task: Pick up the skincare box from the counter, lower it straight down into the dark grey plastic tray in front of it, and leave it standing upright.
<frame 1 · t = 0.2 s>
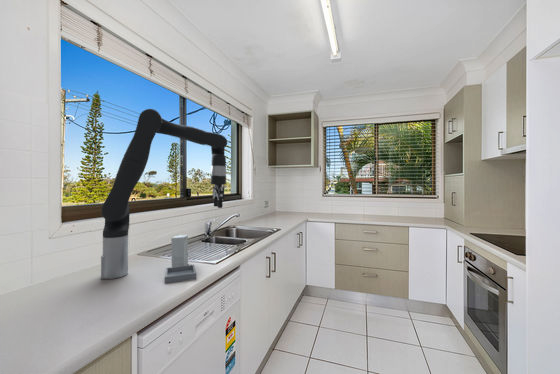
hand: (217, 207, 124), 29 cm above the worktop, tool pointing down, fingers open, 8 cm apart
tray: (180, 276, 106), on the worktop
skincare box: (179, 266, 119), on the worktop
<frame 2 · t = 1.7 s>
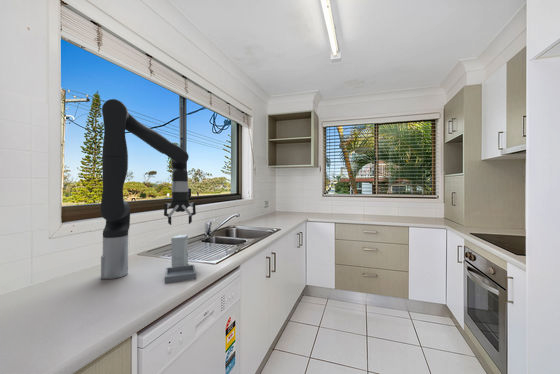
hand: (180, 224, 118), 21 cm above the worktop, tool pointing down, fingers open, 8 cm apart
nothing on the worktop moved.
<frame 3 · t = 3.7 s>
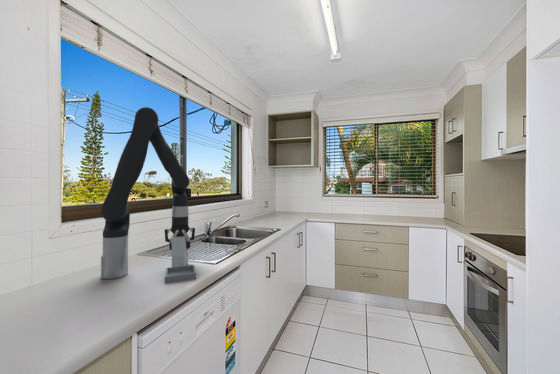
hand: (180, 249, 118), 8 cm above the worktop, tool pointing down, fingers closed on skincare box, 6 cm apart
skincare box: (179, 266, 119), on the worktop, touching gripper
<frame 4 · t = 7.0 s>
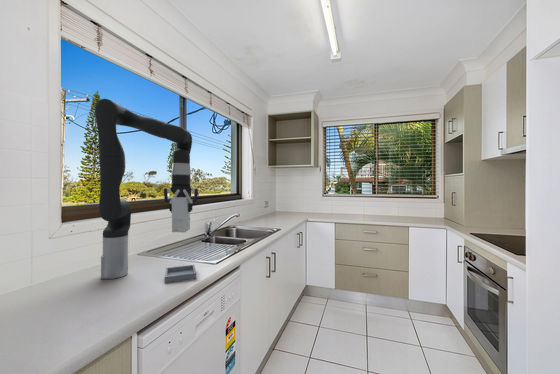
hand: (181, 212, 106), 28 cm above the worktop, tool pointing down, fingers closed on skincare box, 6 cm apart
skincare box: (181, 231, 106), point 19 cm above the worktop, touching gripper
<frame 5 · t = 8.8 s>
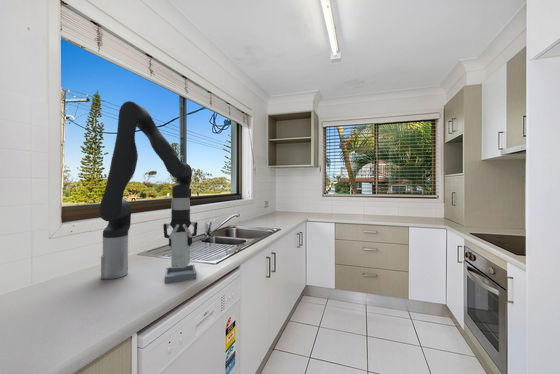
hand: (180, 246, 106), 13 cm above the worktop, tool pointing down, fingers closed on skincare box, 6 cm apart
skincare box: (180, 265, 106), point 4 cm above the worktop, touching gripper
when the fingers open (10 cm above the worktop, at t = 10.4 s): skincare box drops 1 cm, resting on tray.
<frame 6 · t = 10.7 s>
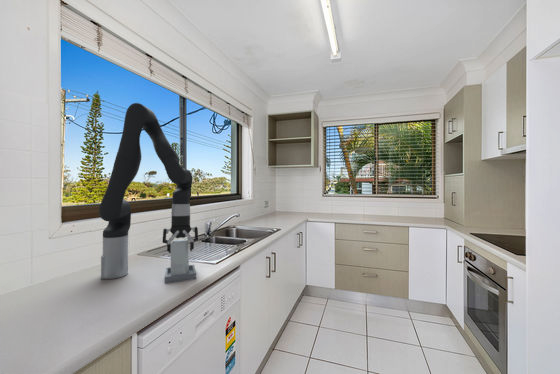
hand: (180, 251, 106), 11 cm above the worktop, tool pointing down, fingers open, 8 cm apart
skincare box: (179, 275, 106), resting on tray
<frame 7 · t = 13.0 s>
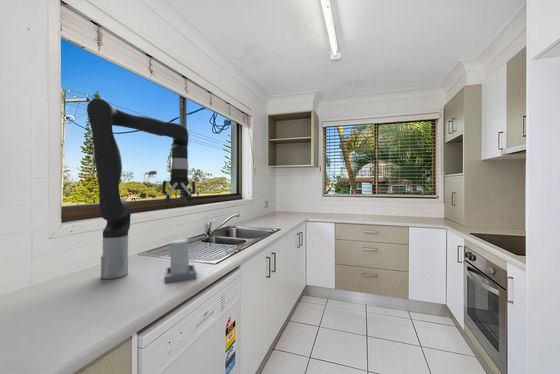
hand: (178, 203, 114), 31 cm above the worktop, tool pointing down, fingers open, 8 cm apart
nothing on the worktop moved.
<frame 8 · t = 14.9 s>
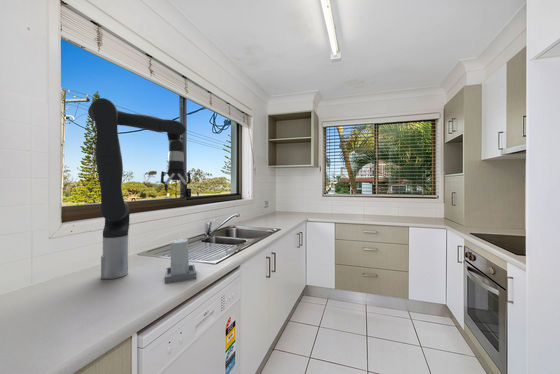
hand: (175, 191, 126), 36 cm above the worktop, tool pointing down, fingers open, 8 cm apart
nothing on the worktop moved.
at the end: skincare box inside the target area on the tray (0.3 cm from its centre), point 0.4 cm above the tray's base; skincare box tilted 0°; the gripper is holding nothing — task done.
